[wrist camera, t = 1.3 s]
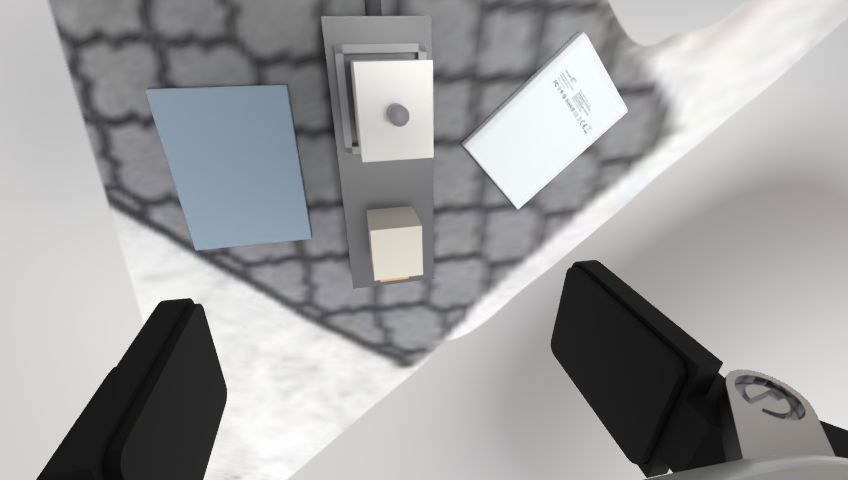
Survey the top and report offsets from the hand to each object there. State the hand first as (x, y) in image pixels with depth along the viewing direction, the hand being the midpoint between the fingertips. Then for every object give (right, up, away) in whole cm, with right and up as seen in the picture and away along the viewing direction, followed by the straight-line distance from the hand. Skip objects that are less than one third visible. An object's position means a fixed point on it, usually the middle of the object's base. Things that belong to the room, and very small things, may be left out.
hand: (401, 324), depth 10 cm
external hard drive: (+11, +12, +24) cm, 29 cm away
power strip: (-3, +12, +20) cm, 23 cm away
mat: (-14, +8, +19) cm, 25 cm away
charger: (-2, +12, +16) cm, 20 cm away
